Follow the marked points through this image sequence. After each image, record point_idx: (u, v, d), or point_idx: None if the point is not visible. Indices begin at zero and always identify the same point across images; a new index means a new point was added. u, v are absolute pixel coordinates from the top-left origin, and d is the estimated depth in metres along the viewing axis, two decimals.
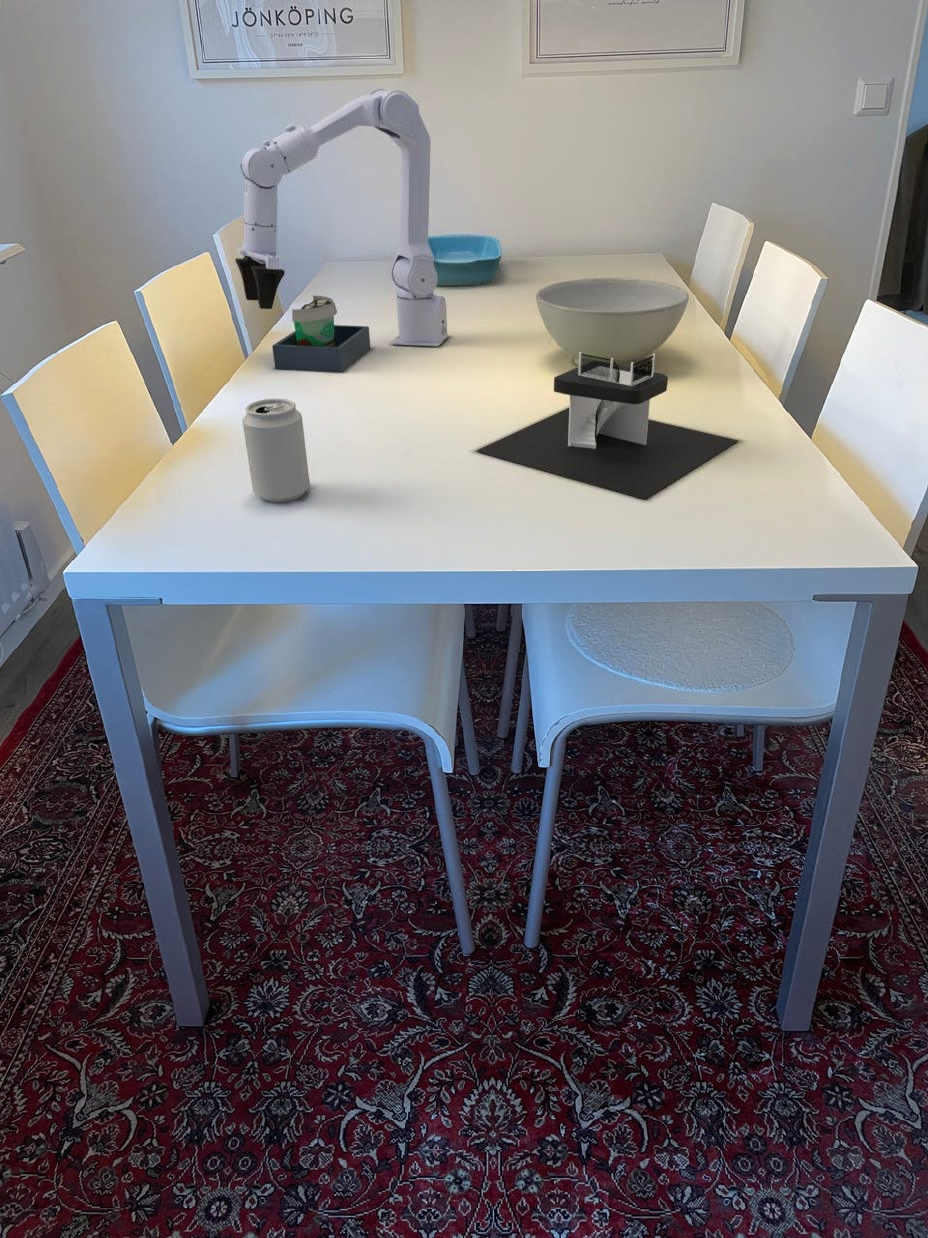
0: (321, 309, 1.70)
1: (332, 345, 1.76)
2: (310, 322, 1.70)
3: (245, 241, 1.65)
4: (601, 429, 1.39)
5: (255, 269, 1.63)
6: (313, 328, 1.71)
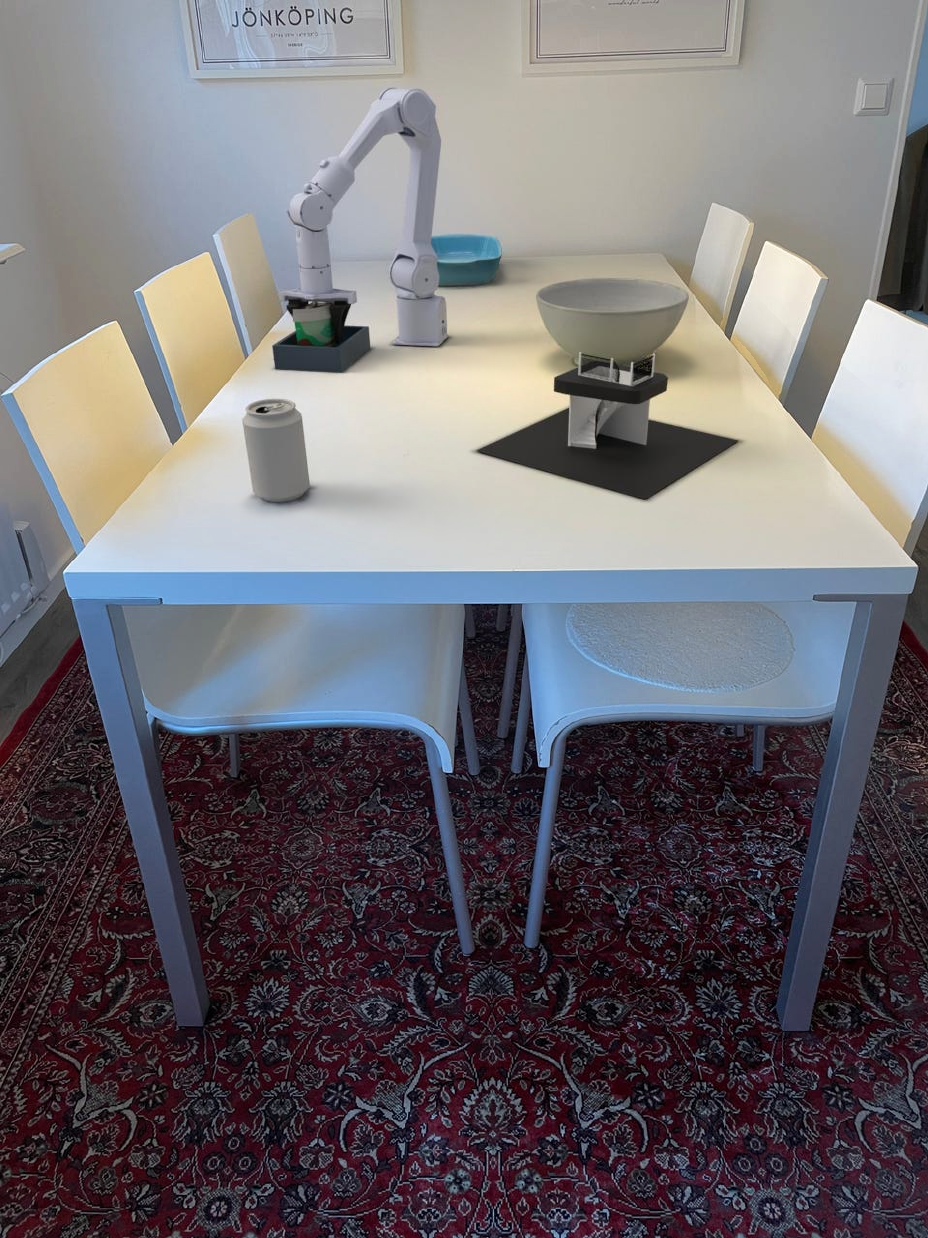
0: (322, 309, 1.70)
1: (332, 345, 1.76)
2: (310, 322, 1.70)
3: (313, 285, 1.68)
4: (601, 429, 1.39)
5: (339, 308, 1.69)
6: (314, 328, 1.71)
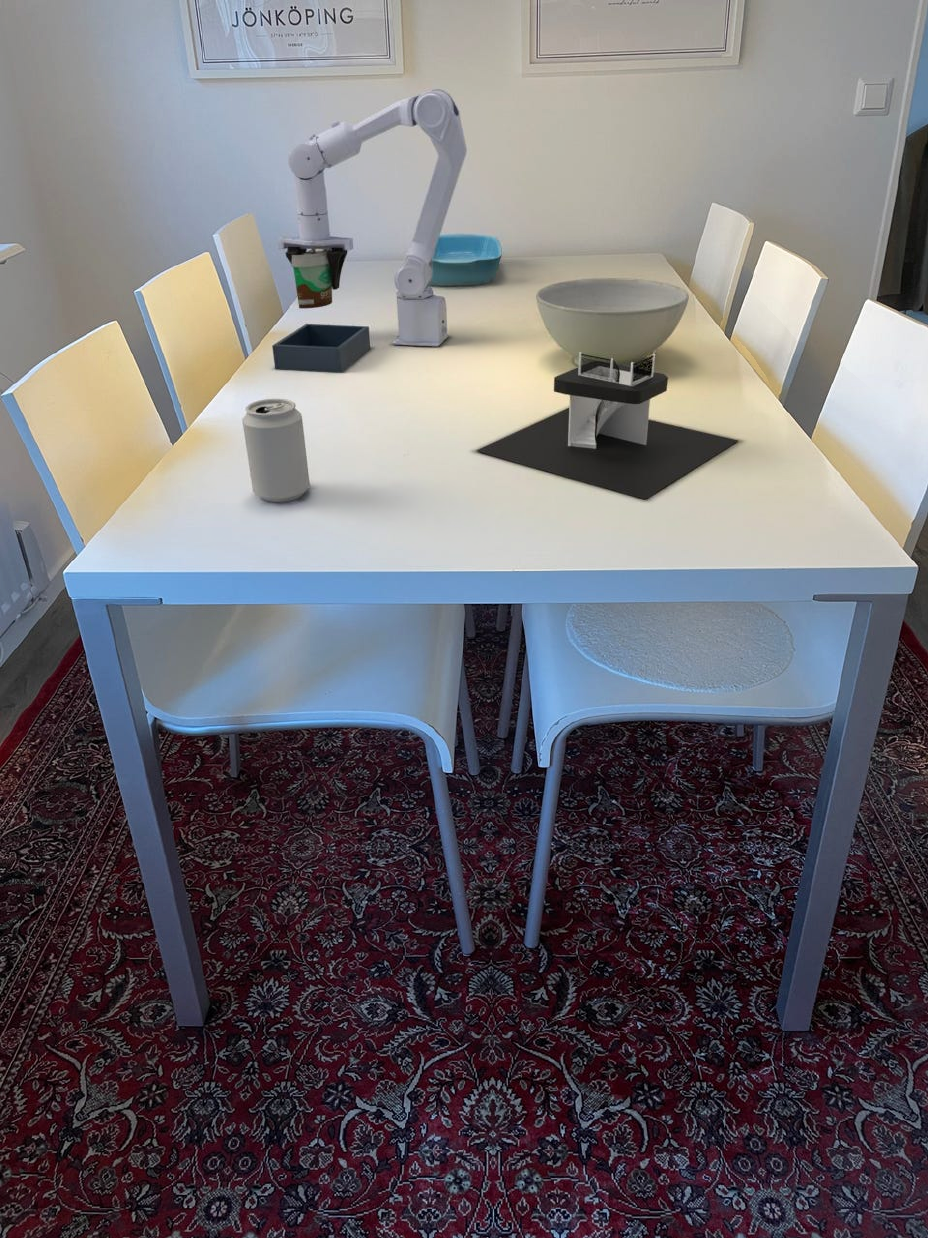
0: (319, 255, 1.78)
1: (330, 291, 1.84)
2: (309, 268, 1.78)
3: (311, 232, 1.76)
4: (601, 429, 1.39)
5: (336, 254, 1.77)
6: (312, 274, 1.79)
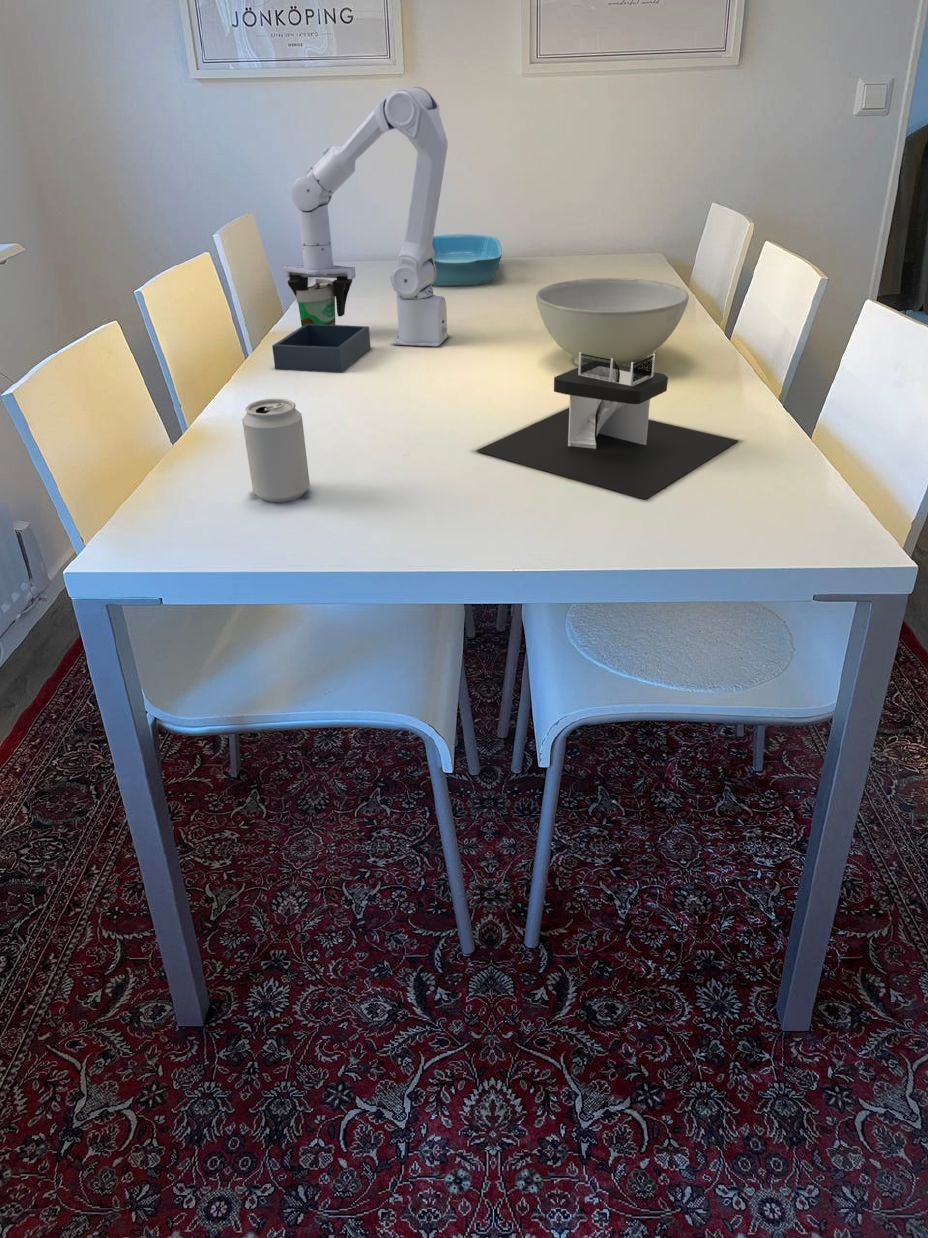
0: (323, 290, 1.85)
1: (333, 324, 1.91)
2: (313, 302, 1.85)
3: (314, 262, 1.82)
4: (601, 429, 1.39)
5: (342, 283, 1.83)
6: (316, 308, 1.86)
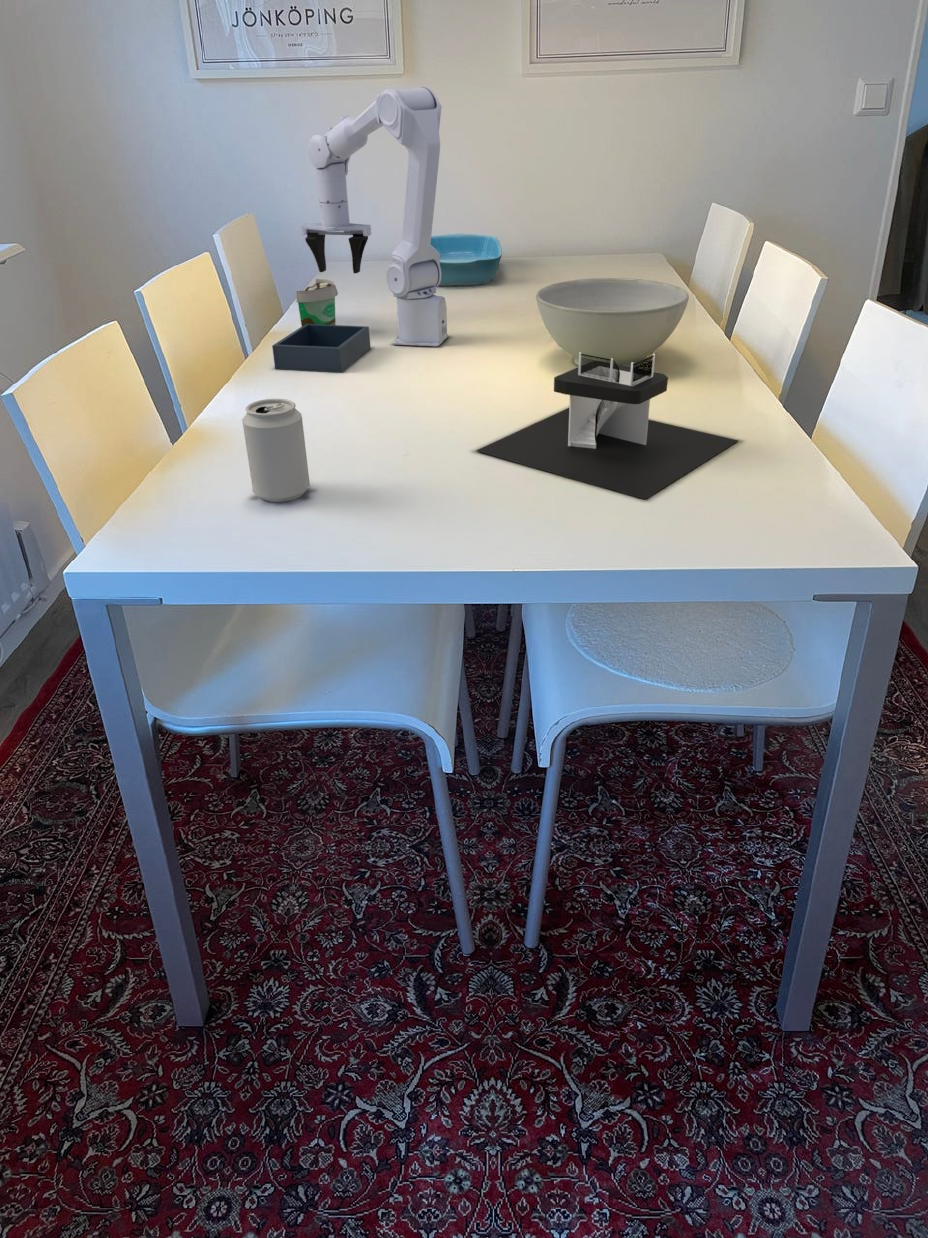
0: (323, 290, 1.85)
1: (333, 324, 1.91)
2: (313, 302, 1.85)
3: (331, 219, 1.88)
4: (601, 429, 1.39)
5: (358, 239, 1.89)
6: (316, 308, 1.86)
